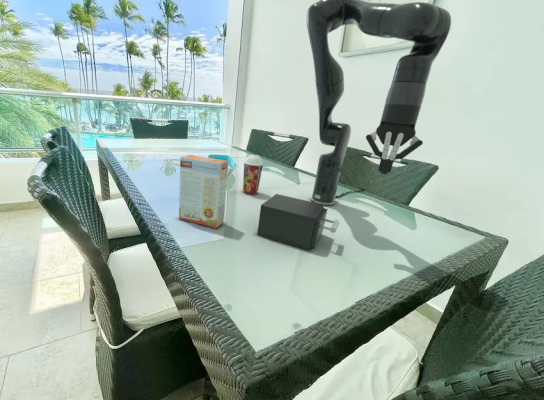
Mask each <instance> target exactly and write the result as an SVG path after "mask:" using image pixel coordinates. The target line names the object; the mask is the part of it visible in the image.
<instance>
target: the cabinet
mask: <svg viewBox="0 0 544 400" xmlns="http://www.w3.org/2000/svg"><path fill="white" fill-rule="evenodd" d="M323 208H325V205H323V204H319V203H315V202H313V201H311V200H310V201H309V200H305V199H301V198H296V197H291V196H288V195H283V194H278V193H275V194H274V195H273V196H271V197H270V198H268V199H267V200H266V201H264V202H263V203H261V204H260V208H259V209H260V210H259V217H258V223H257V225H258V226H257V233H256V235H257V236H260V237H263V238H267V239H270V240H273V241H277V242H279V243H283V244H285V245H290V246H293V247H295V248H298V249H301V250H302V249H303V250H306V251H310V250H311V248H312V247H310V245H311V240H312V235H313V230H314V225H315V221H316V219H317V218H318V216H319V215H320V213H321V212H322V210H323Z"/></svg>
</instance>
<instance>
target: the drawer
mask: <svg viewBox="0 0 544 400" xmlns="http://www.w3.org/2000/svg"><path fill="white" fill-rule="evenodd" d="M327 214H328V208H325V207H324V208H323V210H322V212H321V213H320V215H319V216H318V218H317V219H316V221H315V225H314V230H313V235H312V240H311V245H310V247H311V248H313V249H315V248H316V246H317V244H318V242H319V240H320V238H321V236H322V234H323V232H324V230H328V231H330V233H332V234H334V233H336V232H337V230H338V227H339V224H340V221H339V220H338V219H334V220H331V219H328V218H327ZM325 223H331V224H332V225H331V227H330V226H325Z"/></svg>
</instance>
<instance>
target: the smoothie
mask: <svg viewBox="0 0 544 400" xmlns="http://www.w3.org/2000/svg"><path fill="white" fill-rule="evenodd" d="M253 149H254V150H253V154H250V155H248V156H247V157H246V158H245V160H244V161H243V182H242V190H243V193H244V194H246V195H256V194H257V193H258V191H259V186H260V181H261V176H262V172H263V167H264V163H263V159H262V158H261V157H260V156H259V155H257V154H256V151H257V147H255V148H253Z"/></svg>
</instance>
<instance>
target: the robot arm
mask: <svg viewBox="0 0 544 400" xmlns="http://www.w3.org/2000/svg"><path fill="white" fill-rule="evenodd" d="M305 17H306V18H305V19H306V29H307V35H308V39H309V45H310V50H311V55H312V60H313V61H312V62H313V68H314V79H315V91H316V97H317V105H318V131H319V133H318V135H319V136H318V137H319V141H320V143H321V144H322V145H325V146H330V147H334V149H333V150H332V151H331V152H328V153H327V152H326V153H321V154H320V155H319V158H318V164H317V169H316V173H315V174H316V175H315V179H314V185H313V189H312V194H311V198H310V201H311V202H315V203H319V204H323V205H324V206H332V205H334V204H335V198H338V199H339V198H341V197H342V196H344V195H345V194H344V193H345V192H343V193H341V194H340V195H337V189H338V186H339V182H340V181H339V180H340V176H341V171H342V168H343V163H344V160H345V157H346V153H347V149H348V146H349V142H350V138H351V136H352V135H351V134H352V127H351V125H350V123H349V124H348V123H343V122H333V120H332V118H333V117H332V116H333V112H334V109H335V107H336V106H337V105H338V103H339V102H340V100H341V98H342V97H343V95H344V93H345V75H344V70H343V67H342V66H341V65H340V63H339V62H338V61H337V60H336V59H335V57H334V56H333V55H332V53H331V51H330V47H329V39H328V38H329V35H328V34H330V33H331V32H333V31H335V30H337V29H339V28H340V27H342V26H349V25H350V26H351V25H354V26H356V27H357V29H358V30H359V31H360V32H361V33H362V34H364V35H367V36H369V37H375V38H381V39H398V40H403V41H408V42H412V43H413V44H412V47H411V49H410V51H409V53H408V54H405V55H403V56H401V57H400V58H399V59H398V60H397V63H396V66H395V69H394V73H393V77H392V81H391V84H390V86H389V89H388V92H387V95H386V99H385V103H384V106H383V111H382V115H381V118H380V121H379V125H378V126H377V128H376V129H375V131H373V132H371V133H368V134H366V135H365V139H366V141H367V143H368V145H369V147H370V148H371V150H372V152H373V155H375V156H376V157H379V158H380V161H379V165H378V172H380V174H382V175H387V174H388V173H391V171H392V169H393V165H394V162H395V161H396V160H403V159H404V158H405V157H407V156H408V155H410V154H411V153H412V152H414V151H415V150H416V149H418V148H419V147H421V146H422V145H423V144H424V142H423V140H421V139H419V137H418V136H417V135H416V134H417V132H416V125H417V122H418V118H419V115H420V111H421V109H422V105H423V101H424V99H425V94H426V88H427V84H428V80H429V77H430V75H431V71H432V66H433V64H434V62H435V60H436V58H437V57H438V55H439V53H440V52H441V50H442V47H443V46H444V44H445V42H446V40H447V38H448V36H449V33H450V31H451V27H452V15H451V13H450V12H449V11H448V10H447V9H445V8H443V7H440V6H437V5H435V4H433V3H430V2H421V1H416V2H415V1H414V2H406V3H402V4H401V3H388V2H387V3H385V2H370V1H366V0H318V1H316V2H314V3H313V4H311V5H310V6H309V7H308V8H307V11H306V16H305ZM377 137H378V139H379V141H380V143H381V144H382V145H383V147H382V151H381V150H380V149H379V147H378V145H377V143H376V141H377ZM409 141H410V142H409ZM407 142H409V145H408V146H407V147H405V149H403V150H402V151H400V152H399V150H400V147H403V146H404V145H405V144H406V143H407ZM391 146H392V148H391V150H390V147H391ZM389 151H390V154H389ZM398 152H399V153H398ZM388 155H389V156H388ZM363 188H364V187H361V188H360V189H361V191H365V188H364V189H363ZM335 195H337V196H335Z"/></svg>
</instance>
